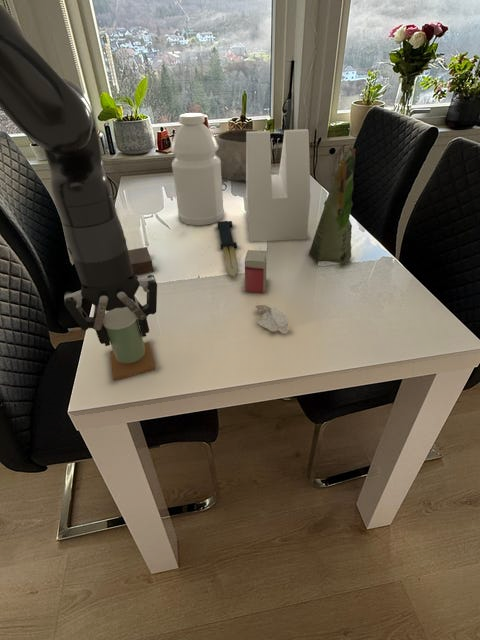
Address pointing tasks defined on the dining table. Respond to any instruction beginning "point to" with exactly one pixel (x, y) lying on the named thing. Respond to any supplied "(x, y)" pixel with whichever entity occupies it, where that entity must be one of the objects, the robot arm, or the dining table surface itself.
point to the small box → (255, 271)
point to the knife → (228, 246)
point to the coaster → (132, 365)
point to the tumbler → (124, 335)
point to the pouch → (336, 216)
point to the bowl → (233, 153)
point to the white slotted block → (278, 187)
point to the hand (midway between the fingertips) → (125, 338)
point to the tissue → (273, 319)
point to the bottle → (197, 172)
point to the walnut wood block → (140, 261)
